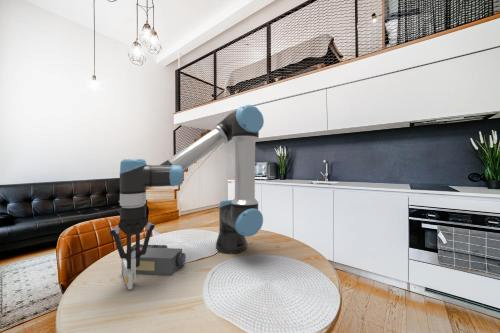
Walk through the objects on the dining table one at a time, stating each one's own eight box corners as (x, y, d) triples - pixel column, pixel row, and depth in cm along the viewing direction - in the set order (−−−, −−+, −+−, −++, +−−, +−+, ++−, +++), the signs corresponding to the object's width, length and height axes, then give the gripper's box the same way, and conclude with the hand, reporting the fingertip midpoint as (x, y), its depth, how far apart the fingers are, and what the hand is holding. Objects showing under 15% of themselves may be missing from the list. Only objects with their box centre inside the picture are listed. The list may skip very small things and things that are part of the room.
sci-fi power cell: (160, 253, 83) (173, 244, 93) (118, 251, 85) (134, 242, 95) (160, 263, 83) (173, 253, 92) (118, 261, 85) (134, 251, 95)
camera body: (187, 263, 82) (187, 246, 82) (177, 275, 73) (177, 256, 73) (139, 261, 83) (139, 245, 83) (124, 273, 74) (124, 254, 74)
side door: (133, 289, 64) (133, 271, 64) (126, 291, 63) (126, 273, 63) (125, 272, 74) (125, 257, 74) (120, 274, 73) (120, 259, 73)
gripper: (153, 202, 73) (154, 267, 73) (111, 205, 67) (111, 277, 67) (155, 205, 67) (155, 277, 67) (108, 209, 61) (108, 288, 60)
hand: (133, 277), depth 67 cm, fingers closed
